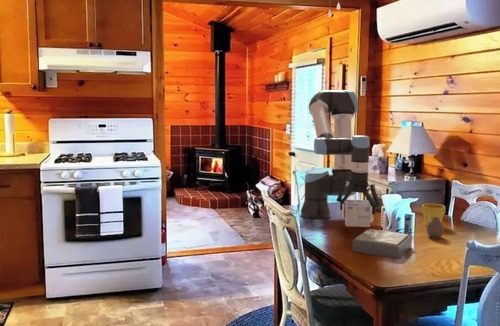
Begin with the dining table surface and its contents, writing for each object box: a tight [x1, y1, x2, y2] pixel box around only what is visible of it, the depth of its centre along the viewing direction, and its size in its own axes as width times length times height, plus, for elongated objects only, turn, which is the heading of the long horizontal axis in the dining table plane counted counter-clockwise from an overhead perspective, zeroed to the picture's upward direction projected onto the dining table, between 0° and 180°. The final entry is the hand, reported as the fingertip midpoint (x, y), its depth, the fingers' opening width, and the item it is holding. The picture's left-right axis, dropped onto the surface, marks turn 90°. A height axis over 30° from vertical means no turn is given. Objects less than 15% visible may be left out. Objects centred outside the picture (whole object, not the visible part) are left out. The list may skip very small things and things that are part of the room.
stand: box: [352, 228, 412, 260], centre depth 196 cm, size 18×18×5 cm
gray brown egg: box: [426, 217, 445, 239], centre depth 213 cm, size 7×7×9 cm
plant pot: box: [421, 203, 446, 227], centre depth 233 cm, size 10×10×10 cm
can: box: [365, 193, 385, 211], centre depth 272 cm, size 12×12×7 cm
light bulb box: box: [344, 199, 371, 228], centre depth 217 cm, size 11×7×11 cm, turn 84°
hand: (357, 219), depth 217 cm, fingers closed on light bulb box, 12 cm apart
